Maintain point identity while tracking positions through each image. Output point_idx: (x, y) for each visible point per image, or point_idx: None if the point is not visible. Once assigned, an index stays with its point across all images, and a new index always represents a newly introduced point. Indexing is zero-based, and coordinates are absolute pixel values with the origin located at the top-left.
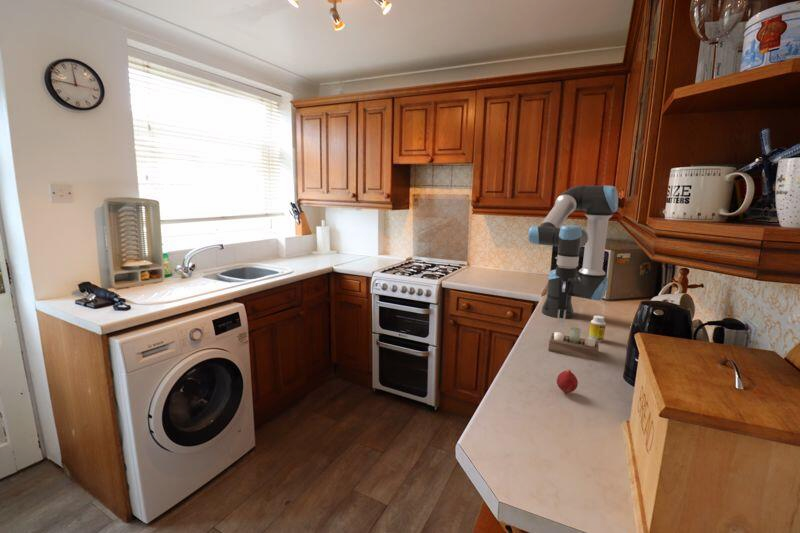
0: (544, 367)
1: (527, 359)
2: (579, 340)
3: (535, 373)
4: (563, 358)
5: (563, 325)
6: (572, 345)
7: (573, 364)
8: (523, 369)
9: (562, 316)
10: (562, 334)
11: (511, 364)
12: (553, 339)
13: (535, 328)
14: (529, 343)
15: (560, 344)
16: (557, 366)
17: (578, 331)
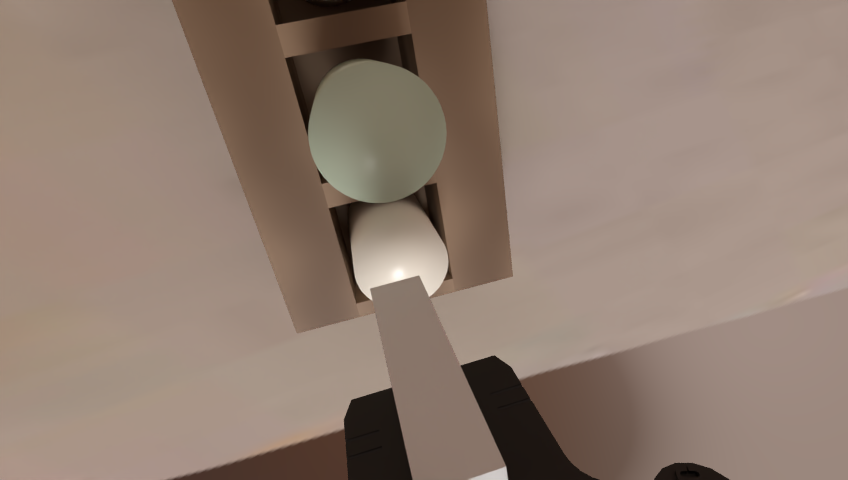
0: (749, 165)
1: (680, 274)
2: (289, 69)
3: (835, 175)
4: (558, 115)
5: (421, 287)
6: (493, 92)
7: (628, 22)
8: (807, 238)
9: (519, 386)
10: (406, 236)
11: (770, 301)
12: (453, 266)
13: (91, 471)
14: None
15: (500, 190)
16: (706, 108)
17: (421, 79)
